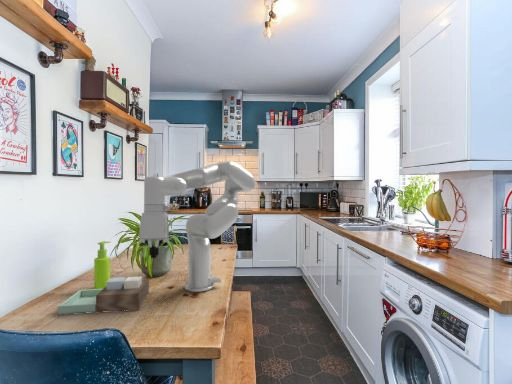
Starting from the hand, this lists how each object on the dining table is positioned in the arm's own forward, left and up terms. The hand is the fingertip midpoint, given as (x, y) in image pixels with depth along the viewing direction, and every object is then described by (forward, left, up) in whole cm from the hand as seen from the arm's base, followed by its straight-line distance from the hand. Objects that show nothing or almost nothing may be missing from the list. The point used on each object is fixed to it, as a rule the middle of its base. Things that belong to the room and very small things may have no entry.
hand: (154, 257), depth 108 cm
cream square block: (+8, 0, -11) cm, 13 cm away
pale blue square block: (+14, 0, -11) cm, 17 cm away
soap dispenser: (+25, -18, -17) cm, 35 cm away
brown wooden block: (+11, 0, -17) cm, 20 cm away
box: (+24, 0, -17) cm, 29 cm away
